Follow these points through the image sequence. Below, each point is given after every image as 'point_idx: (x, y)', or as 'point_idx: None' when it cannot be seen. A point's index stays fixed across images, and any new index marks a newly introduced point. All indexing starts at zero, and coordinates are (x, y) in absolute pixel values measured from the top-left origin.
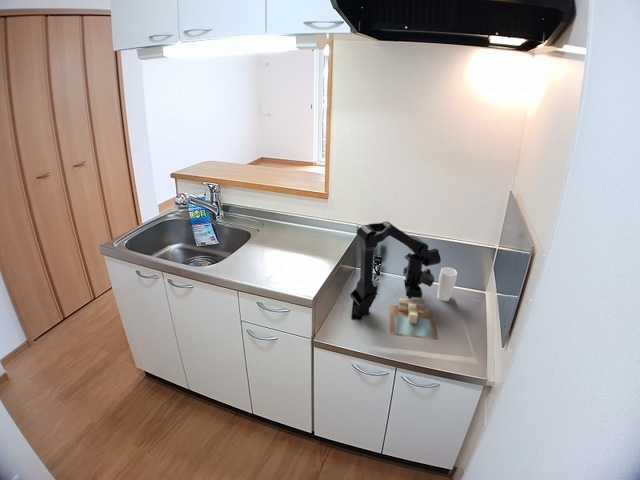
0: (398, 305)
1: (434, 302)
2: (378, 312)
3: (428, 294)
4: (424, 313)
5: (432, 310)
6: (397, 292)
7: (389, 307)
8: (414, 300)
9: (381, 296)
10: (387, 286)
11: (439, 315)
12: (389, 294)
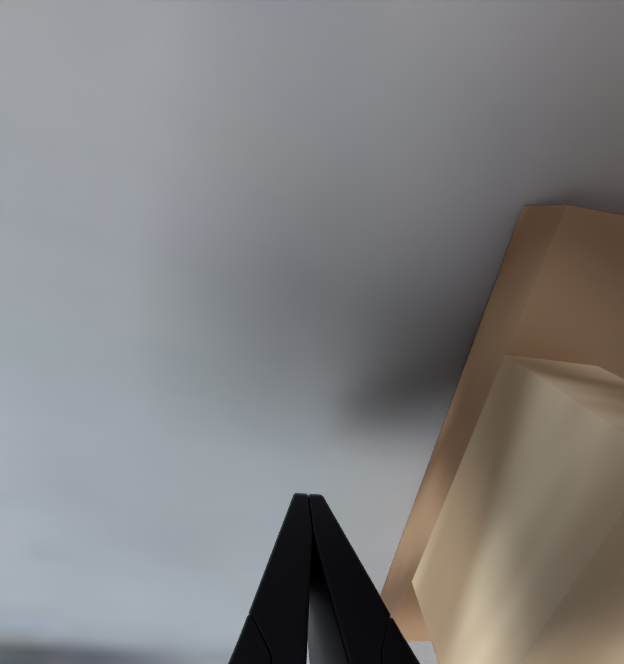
0: (423, 596)
1: (283, 59)
2: (426, 649)
3: (39, 103)
4: (614, 354)
5: (590, 209)
6: (112, 521)
7: (423, 637)
8: (579, 605)
9: (213, 632)
10: (19, 590)
11: (620, 94)
12: (169, 583)
